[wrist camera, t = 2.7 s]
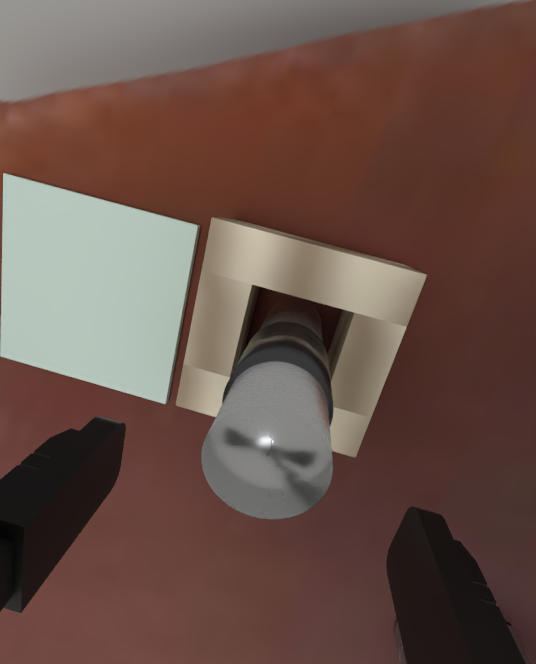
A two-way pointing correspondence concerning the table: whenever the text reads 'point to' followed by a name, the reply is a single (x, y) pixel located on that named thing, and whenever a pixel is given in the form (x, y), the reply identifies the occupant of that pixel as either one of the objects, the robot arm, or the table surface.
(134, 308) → the sage mat
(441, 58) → the table surface
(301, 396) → the steel peg
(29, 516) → the robot arm
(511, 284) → the table surface
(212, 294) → the eye block
